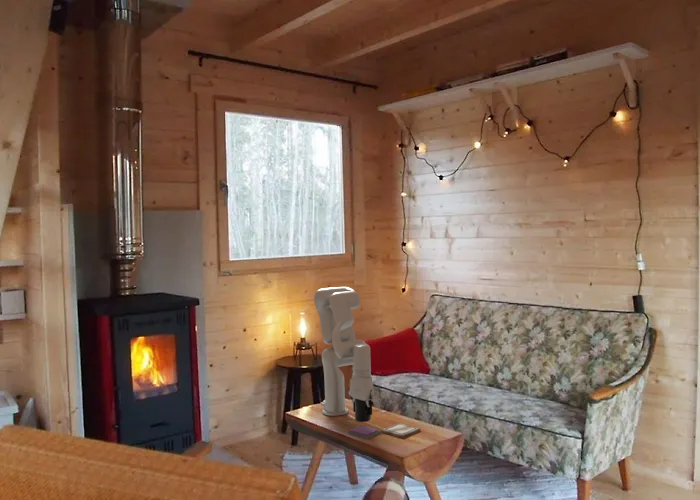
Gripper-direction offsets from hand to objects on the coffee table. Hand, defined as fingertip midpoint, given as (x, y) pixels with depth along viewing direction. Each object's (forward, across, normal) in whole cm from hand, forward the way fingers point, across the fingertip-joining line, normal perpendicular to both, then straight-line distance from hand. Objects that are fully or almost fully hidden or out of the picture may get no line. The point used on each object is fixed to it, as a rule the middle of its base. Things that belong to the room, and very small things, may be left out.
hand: (362, 412), depth 270 cm
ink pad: (+9, +1, 0) cm, 9 cm away
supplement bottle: (+3, 0, 0) cm, 3 cm away
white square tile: (+9, +12, +11) cm, 18 cm away
